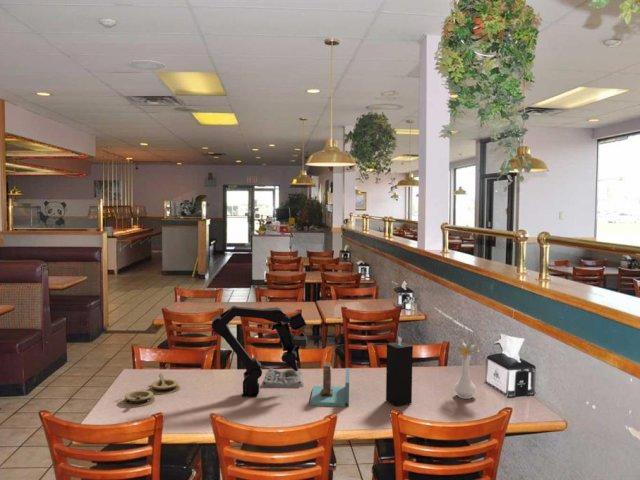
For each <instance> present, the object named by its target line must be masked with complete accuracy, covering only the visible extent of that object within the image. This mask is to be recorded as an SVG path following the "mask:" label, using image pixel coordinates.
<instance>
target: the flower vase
mask: <svg viewBox="0 0 640 480" xmlns="http://www.w3.org/2000/svg"><path fill="white" fill-rule="evenodd" d="M449 350H451V351H450V353H449V354H450V356H451V359H453V358H454V357H455V356H461V361H462V362H461V363H462V364H461V375H460V378H459V380H458V381H457V382H456V383H455V384H454V386H453V387H454V388H453V391H454V392H455V393H456V394H457V397H458V398H461V399H465V400H469V399H471V398H473V396H474V395H475V394H476V392H477V388H476V385H475V384H474V383H473V381H472V379H471V376H470V361H471V357H472V356H473V355H474V354H476V355H477V356H478V357H479V358H483V357H482V354H481V353H480V352H481V351H480V347H479V345H478V344H477V341H474V344H472V341H471V340H470V339H468V340H467V341H466V343H465V340H464V339H463V338H460V339H459V340H458V339H456V338H455V340H454V342H453V343H452V345H451V346H450V347H449Z"/></svg>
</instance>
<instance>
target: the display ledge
mask: <svg viewBox="0 0 640 480" xmlns="http://www.w3.org/2000/svg"><path fill="white" fill-rule="evenodd" d="M344 382H345V384H344V385H345V386H341V385H340V386H337V385H335V386H334V385H333V386H332V385H331V389H333V396H321V389H323V385H313V387H312V392H311V397H310V401H309V402H310V403H309V406H315V405H320V406H321V407H322V406H323V407H347V408H348V407H349V406H350V367H346V368H345V381H344Z"/></svg>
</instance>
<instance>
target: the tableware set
mask: <svg viewBox="0 0 640 480" xmlns="http://www.w3.org/2000/svg"><path fill="white" fill-rule="evenodd" d="M158 377H159V379H158V380H156V381H153V382H152V383H151V387H149V390H143V389H141V390H133V391H129V392H127V393H126V394H124V399H123V398H119V399H117V400H114V401H113V403H117V402H120V401H121V400H122V401H121V404H122V405H123V406H124V407H128V408H141V407H146V406H149V405H151V404H153V403H155V402H156V397H155V396H154V395H170V394H174V393H176V392H178V391H180V390H181V386H180V385H179V382H178V380H176V379H171V378H167V379H164V374H163V373H162V372H161V373H158Z"/></svg>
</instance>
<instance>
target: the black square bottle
mask: <svg viewBox="0 0 640 480" xmlns="http://www.w3.org/2000/svg"><path fill="white" fill-rule="evenodd" d="M397 340H398V341H396V342H390V343H386V368H385V369H386V373H385V374H386V376H385V380H386V385H385V400H386V402H388V403H389V404H391V405H393V406H395V407H402V406H405V405H410V404H412V401H413V399H412V398H413V397H412V396H413V356H414V355H413V353H414V352H413V350H414V348H413V347H414V346H413V345H411V344H409V343H406V342H404V341H403V339H402V337H400V335H399V336H397Z"/></svg>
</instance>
